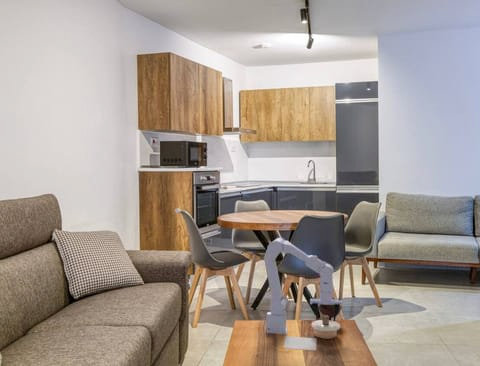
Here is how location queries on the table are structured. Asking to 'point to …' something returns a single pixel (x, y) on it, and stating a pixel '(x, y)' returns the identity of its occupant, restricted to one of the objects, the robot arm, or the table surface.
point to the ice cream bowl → (328, 310)
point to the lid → (325, 324)
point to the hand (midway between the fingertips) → (325, 320)
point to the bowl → (325, 334)
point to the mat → (300, 343)
